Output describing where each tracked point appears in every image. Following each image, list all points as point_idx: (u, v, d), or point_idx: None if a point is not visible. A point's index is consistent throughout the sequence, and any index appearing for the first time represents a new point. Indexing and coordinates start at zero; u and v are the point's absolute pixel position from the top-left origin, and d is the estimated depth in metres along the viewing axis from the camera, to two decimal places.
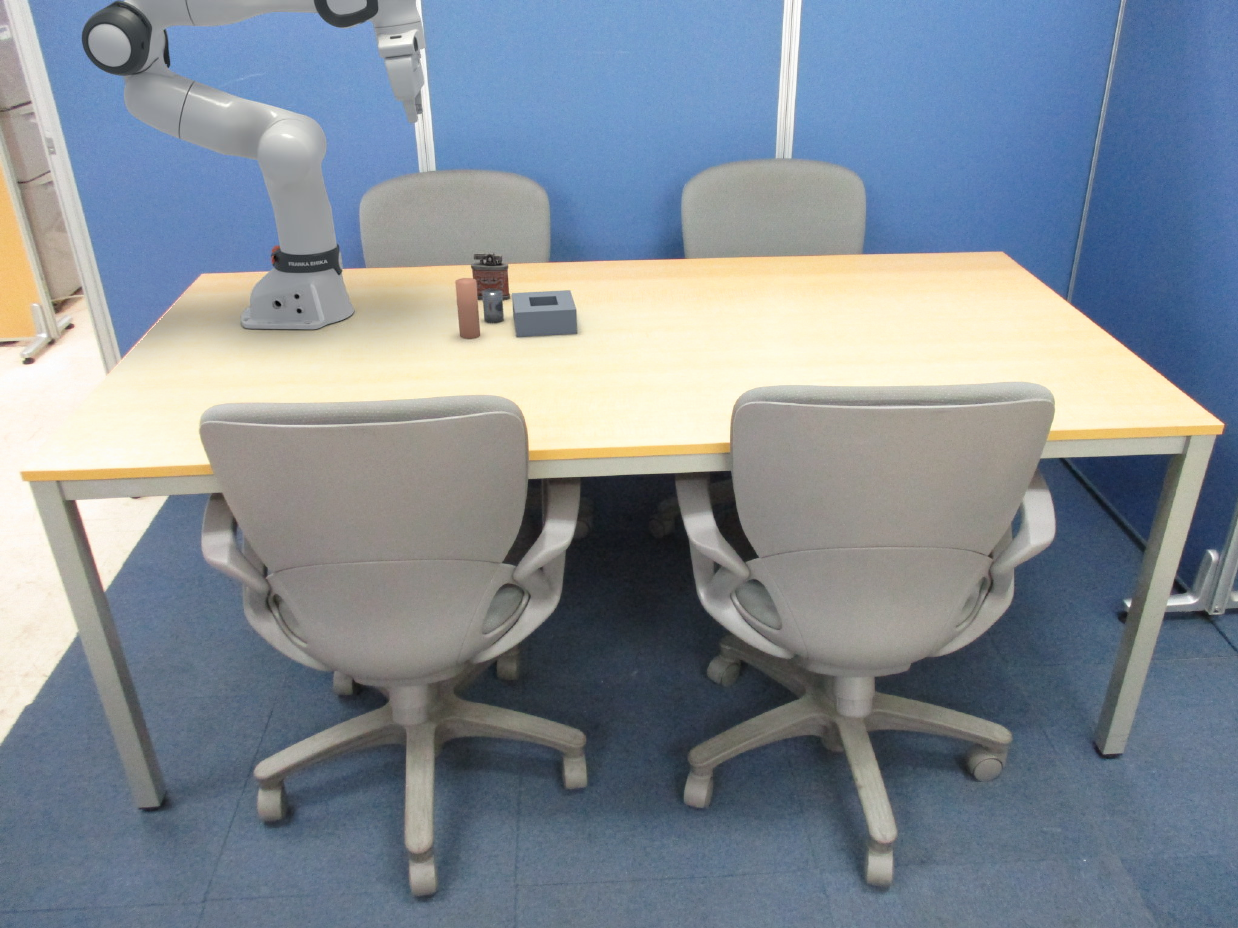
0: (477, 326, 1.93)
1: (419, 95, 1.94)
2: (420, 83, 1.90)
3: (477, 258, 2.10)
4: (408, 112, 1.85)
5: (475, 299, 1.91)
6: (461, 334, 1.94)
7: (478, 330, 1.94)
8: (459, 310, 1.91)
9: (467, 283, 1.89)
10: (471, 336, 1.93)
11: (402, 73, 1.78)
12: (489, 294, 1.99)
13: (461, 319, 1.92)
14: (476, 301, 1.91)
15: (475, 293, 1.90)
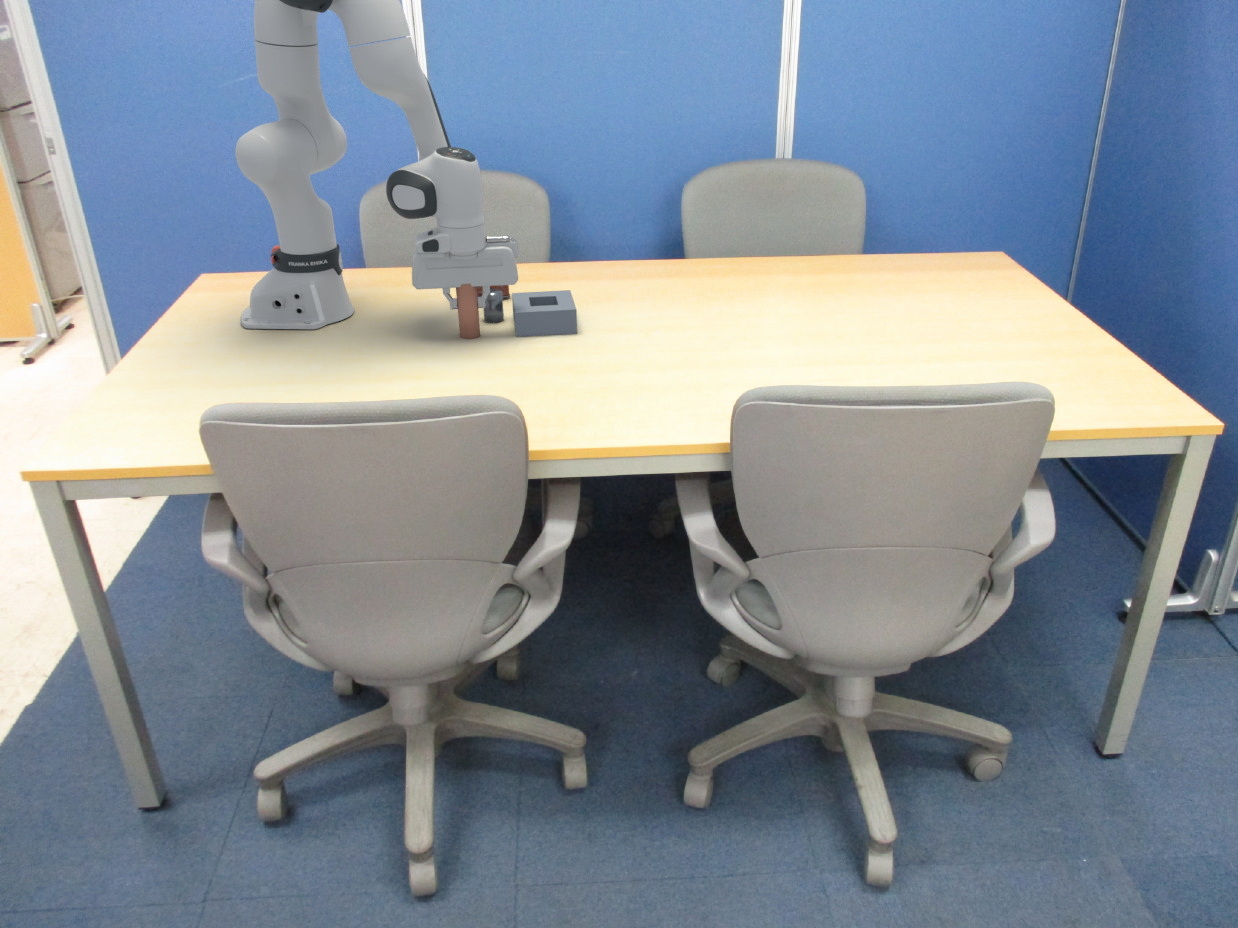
0: (477, 326, 1.93)
1: (485, 292, 1.91)
2: (476, 281, 1.89)
3: None
4: None
5: (475, 299, 1.91)
6: (461, 334, 1.94)
7: (478, 330, 1.94)
8: (459, 310, 1.91)
9: None
10: (471, 336, 1.93)
11: None
12: (489, 294, 1.99)
13: (461, 319, 1.92)
14: (476, 301, 1.91)
15: (475, 293, 1.90)
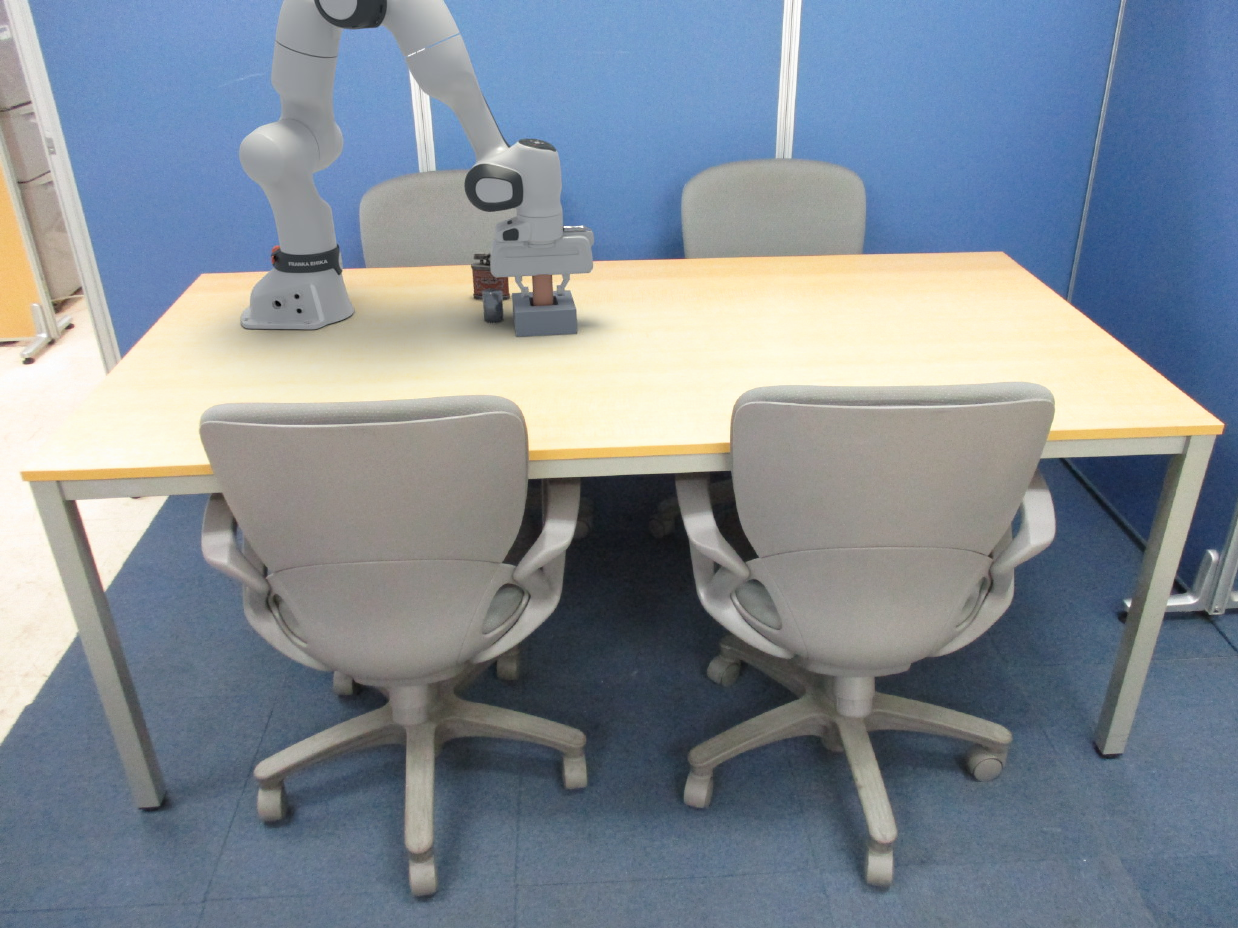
0: None
1: (565, 280, 1.96)
2: (553, 269, 1.93)
3: (477, 258, 2.10)
4: None
5: (551, 290, 1.96)
6: None
7: None
8: (535, 300, 1.96)
9: None
10: None
11: (491, 253, 1.91)
12: (489, 294, 1.99)
13: None
14: (552, 292, 1.96)
15: (551, 284, 1.95)
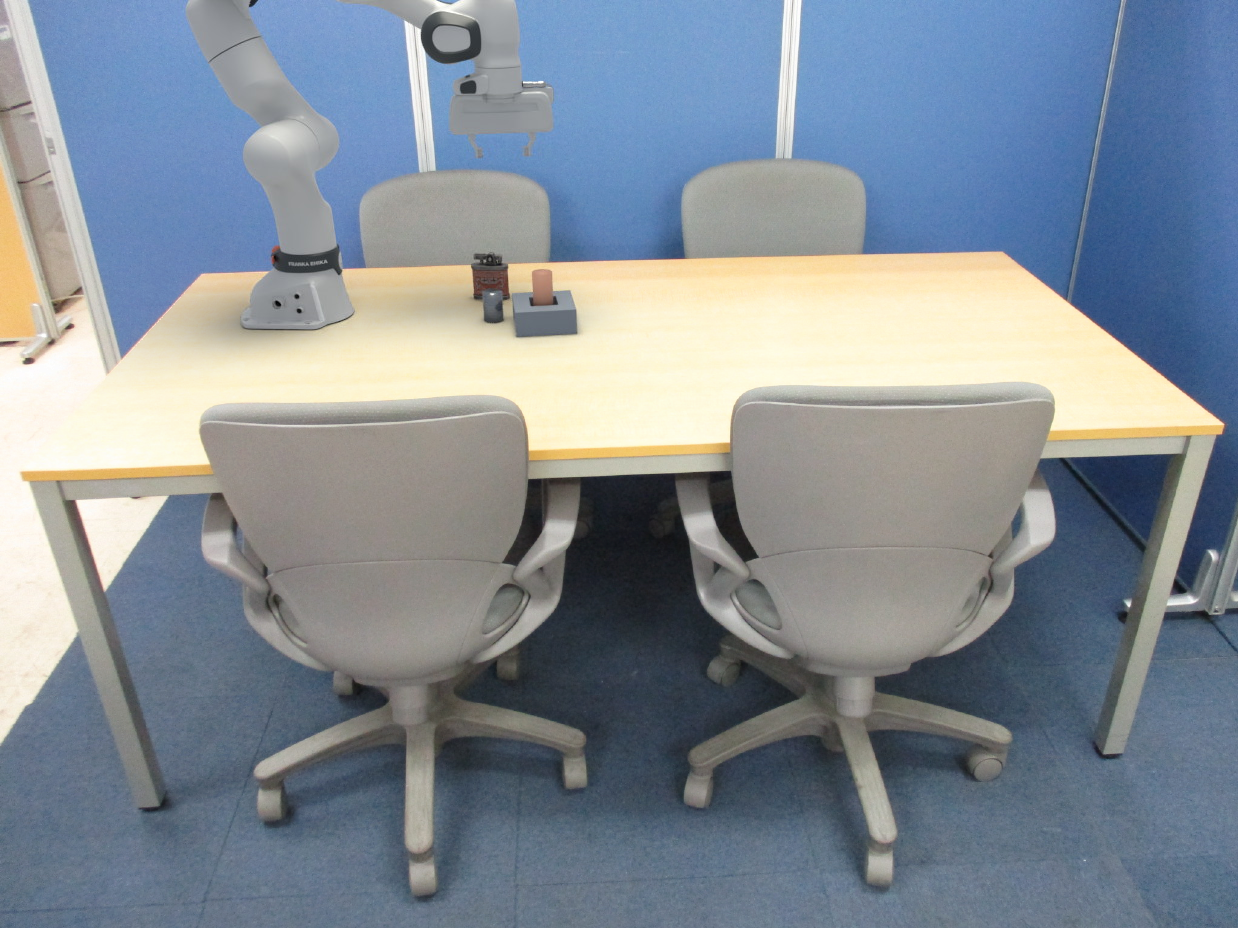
0: None
1: (531, 139, 1.93)
2: (513, 127, 1.91)
3: (477, 258, 2.10)
4: None
5: (551, 289, 1.96)
6: None
7: None
8: (535, 300, 1.96)
9: (544, 274, 1.94)
10: None
11: (449, 109, 1.89)
12: (489, 294, 1.99)
13: None
14: (552, 292, 1.96)
15: (551, 284, 1.95)
